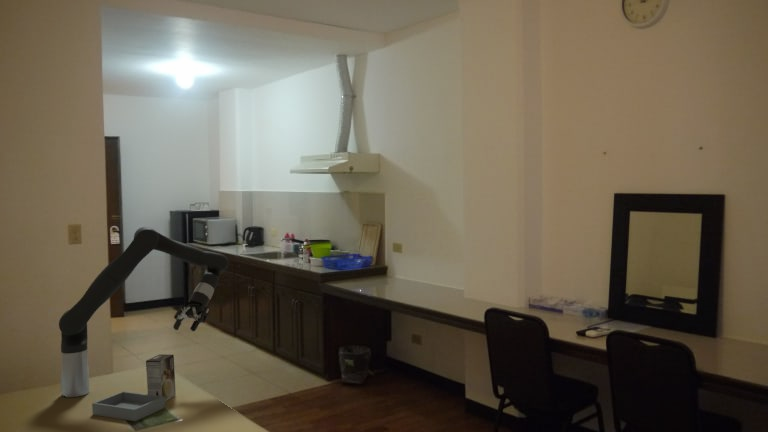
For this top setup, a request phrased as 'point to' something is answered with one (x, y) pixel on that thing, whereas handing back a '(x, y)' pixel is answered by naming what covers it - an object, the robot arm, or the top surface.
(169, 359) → the coffee box
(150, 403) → the tray
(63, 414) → the top surface
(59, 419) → the top surface
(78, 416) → the top surface
